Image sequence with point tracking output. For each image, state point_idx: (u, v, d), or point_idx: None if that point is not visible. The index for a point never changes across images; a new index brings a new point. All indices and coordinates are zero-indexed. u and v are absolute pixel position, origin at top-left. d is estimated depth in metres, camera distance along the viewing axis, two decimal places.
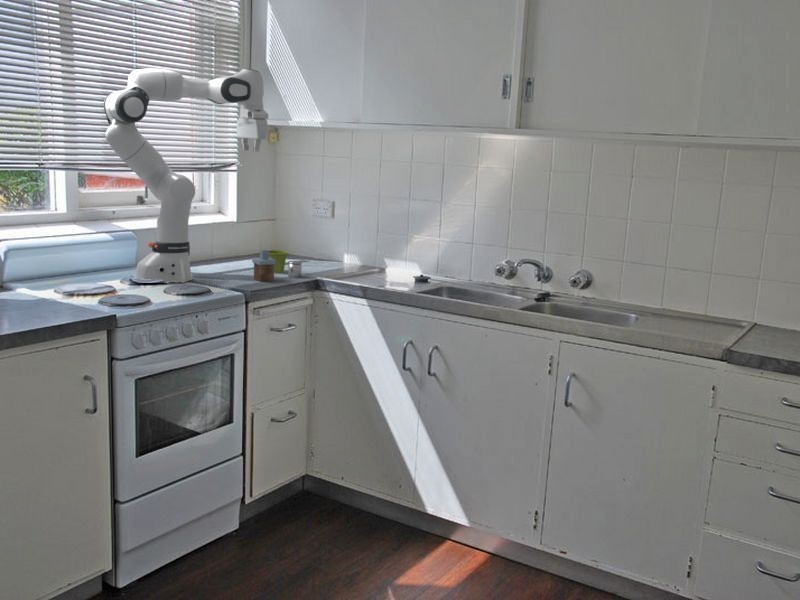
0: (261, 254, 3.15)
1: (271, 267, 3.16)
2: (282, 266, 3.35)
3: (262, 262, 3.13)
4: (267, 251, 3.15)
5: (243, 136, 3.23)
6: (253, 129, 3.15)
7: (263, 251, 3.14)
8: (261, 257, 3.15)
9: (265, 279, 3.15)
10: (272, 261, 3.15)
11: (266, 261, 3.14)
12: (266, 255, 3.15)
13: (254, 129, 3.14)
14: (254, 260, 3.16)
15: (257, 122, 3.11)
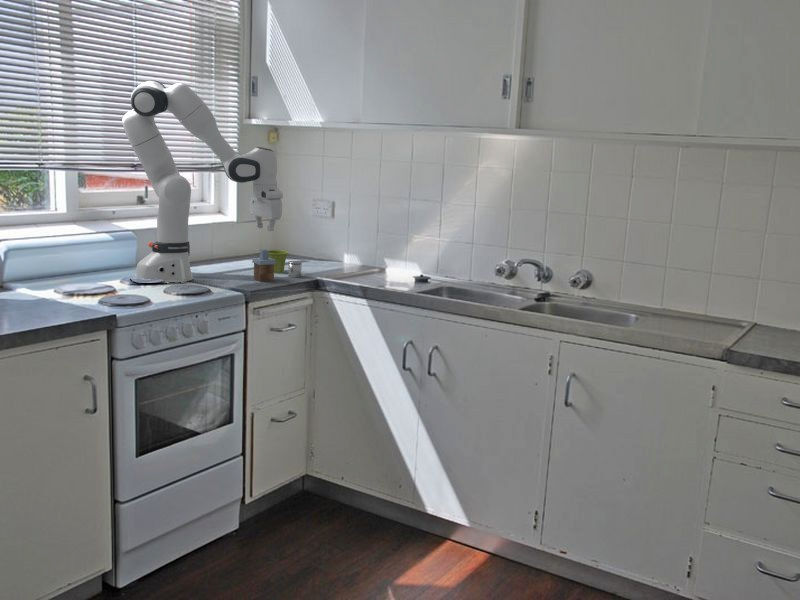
0: (261, 254, 3.15)
1: (271, 267, 3.16)
2: (282, 266, 3.35)
3: (262, 262, 3.13)
4: (267, 251, 3.15)
5: (257, 214, 3.15)
6: (267, 209, 3.07)
7: (263, 251, 3.14)
8: (261, 257, 3.15)
9: (265, 279, 3.15)
10: (272, 261, 3.15)
11: (266, 261, 3.14)
12: (266, 255, 3.15)
13: (268, 209, 3.06)
14: (254, 260, 3.16)
15: (271, 203, 3.04)
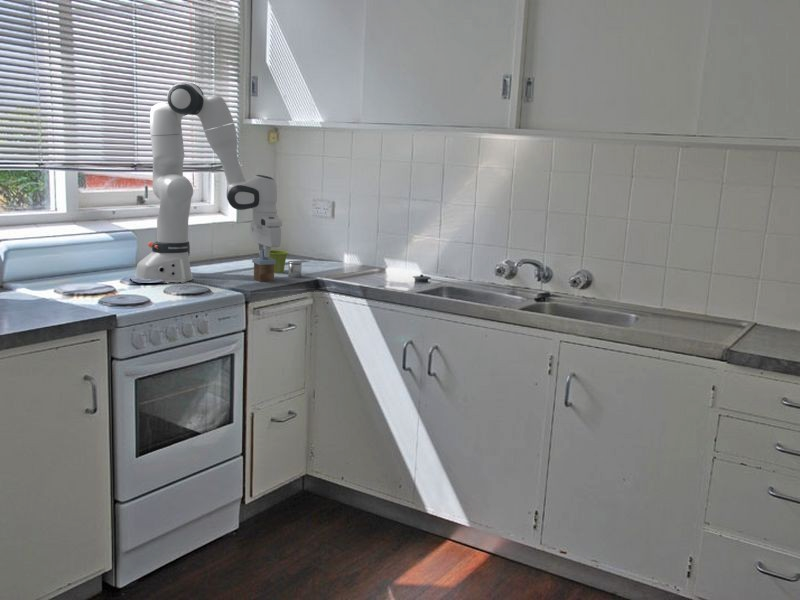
0: (261, 254, 3.15)
1: (271, 267, 3.16)
2: (282, 266, 3.35)
3: (262, 262, 3.13)
4: None
5: (256, 241, 3.17)
6: (266, 237, 3.09)
7: (263, 251, 3.14)
8: (261, 257, 3.15)
9: (265, 279, 3.15)
10: (272, 261, 3.15)
11: (266, 261, 3.14)
12: None
13: (267, 237, 3.08)
14: (254, 260, 3.16)
15: (271, 230, 3.06)
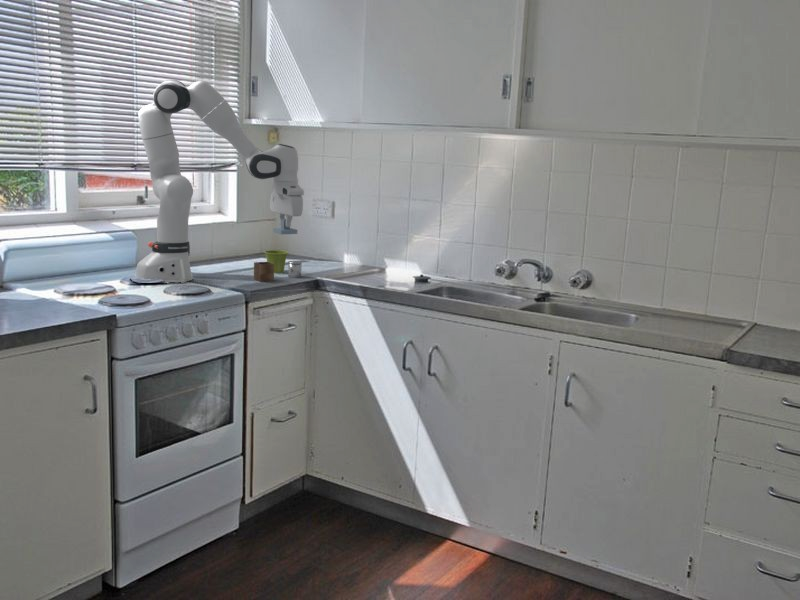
0: (282, 224, 3.15)
1: (271, 267, 3.16)
2: (282, 266, 3.35)
3: (284, 232, 3.12)
4: None
5: (277, 211, 3.16)
6: (288, 206, 3.08)
7: (284, 221, 3.14)
8: (282, 227, 3.15)
9: (265, 279, 3.15)
10: (293, 231, 3.14)
11: (287, 231, 3.13)
12: None
13: (289, 206, 3.07)
14: (275, 230, 3.15)
15: (292, 199, 3.05)
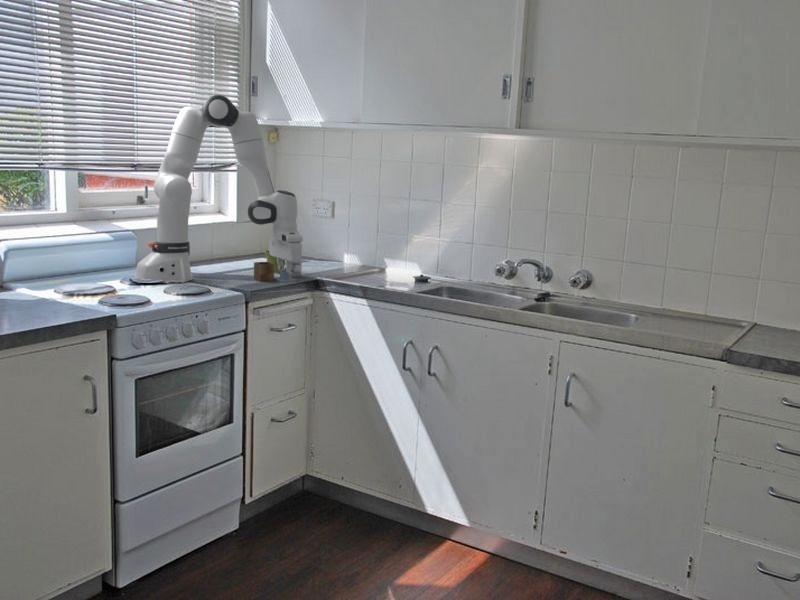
0: (281, 274, 3.18)
1: (271, 267, 3.16)
2: None
3: None
4: None
5: (276, 256, 3.19)
6: (287, 252, 3.11)
7: (283, 271, 3.17)
8: (281, 277, 3.18)
9: (265, 279, 3.15)
10: (292, 281, 3.18)
11: (286, 281, 3.17)
12: (287, 275, 3.18)
13: (288, 252, 3.11)
14: None
15: (292, 246, 3.08)
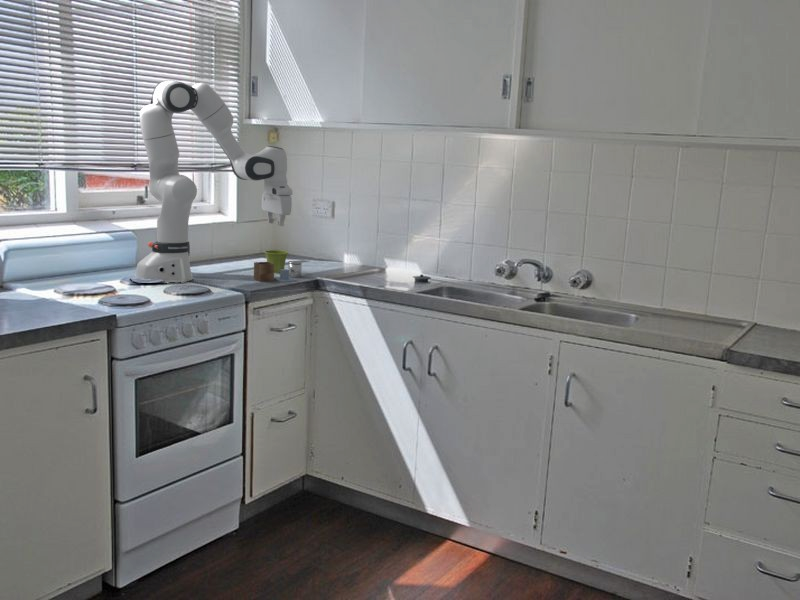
0: (281, 274, 3.18)
1: (271, 267, 3.16)
2: (282, 266, 3.35)
3: None
4: (287, 271, 3.18)
5: (268, 210, 3.30)
6: (278, 205, 3.22)
7: (283, 271, 3.17)
8: (281, 277, 3.18)
9: (265, 279, 3.15)
10: (292, 281, 3.18)
11: (286, 281, 3.17)
12: (287, 275, 3.18)
13: (279, 205, 3.21)
14: None
15: (281, 199, 3.19)
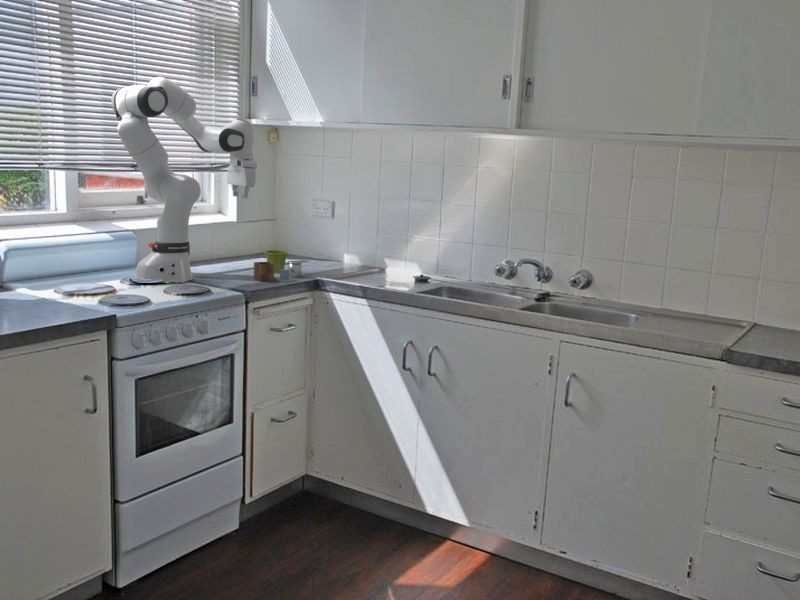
0: (281, 274, 3.18)
1: (271, 267, 3.16)
2: (282, 266, 3.35)
3: None
4: (287, 271, 3.18)
5: (233, 183, 3.35)
6: (242, 177, 3.27)
7: (283, 271, 3.17)
8: (281, 277, 3.18)
9: (265, 279, 3.15)
10: (292, 281, 3.18)
11: (286, 281, 3.17)
12: (287, 275, 3.18)
13: (243, 177, 3.26)
14: None
15: (246, 171, 3.24)
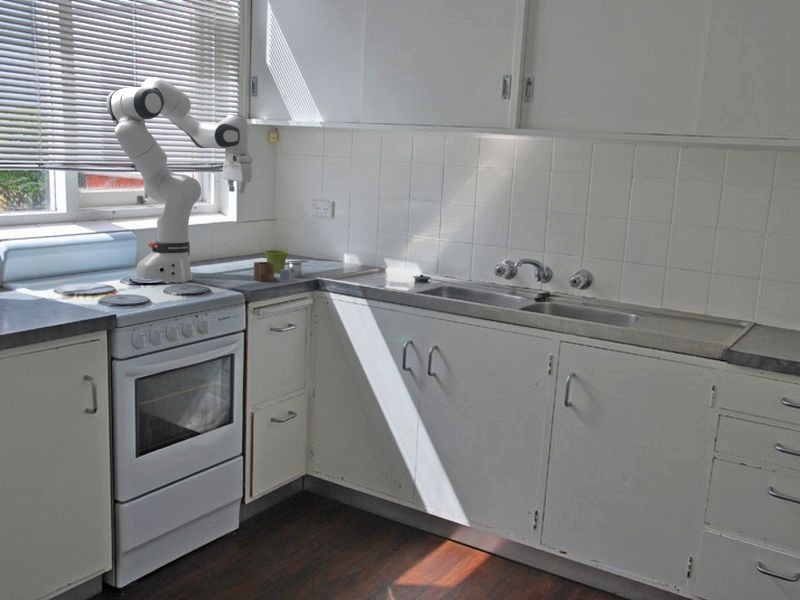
0: (281, 274, 3.18)
1: (271, 267, 3.16)
2: (282, 266, 3.35)
3: None
4: (287, 271, 3.18)
5: (229, 178, 3.35)
6: (238, 172, 3.27)
7: (283, 271, 3.17)
8: (281, 277, 3.18)
9: (265, 279, 3.15)
10: (292, 281, 3.18)
11: (286, 281, 3.17)
12: (287, 275, 3.18)
13: (239, 172, 3.27)
14: None
15: (242, 166, 3.24)
